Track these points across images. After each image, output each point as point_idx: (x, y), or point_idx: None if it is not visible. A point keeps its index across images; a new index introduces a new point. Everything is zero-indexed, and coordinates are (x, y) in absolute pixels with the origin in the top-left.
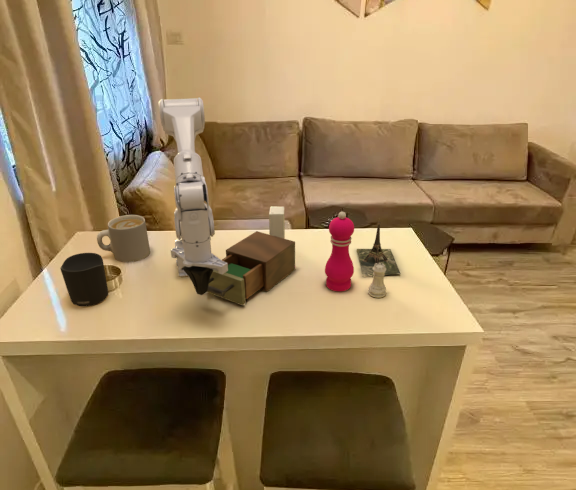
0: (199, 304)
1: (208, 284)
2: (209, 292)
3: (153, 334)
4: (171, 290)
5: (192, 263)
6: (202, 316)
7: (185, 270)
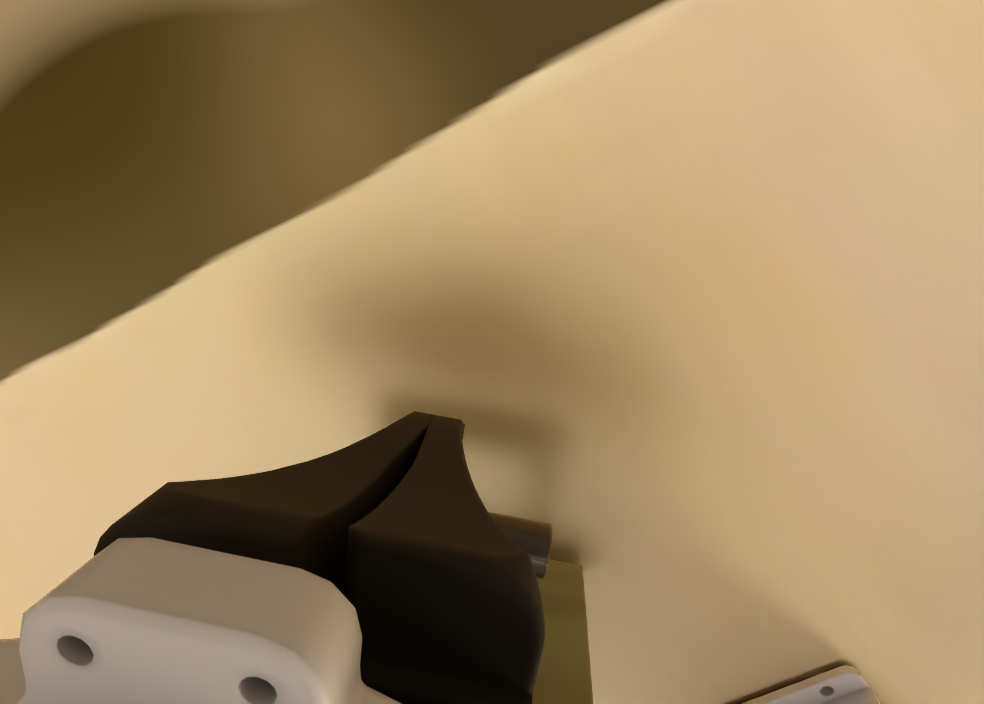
0: (569, 457)
1: (559, 608)
2: (557, 563)
3: (679, 45)
4: (828, 531)
5: (34, 689)
6: (482, 358)
7: (468, 547)
